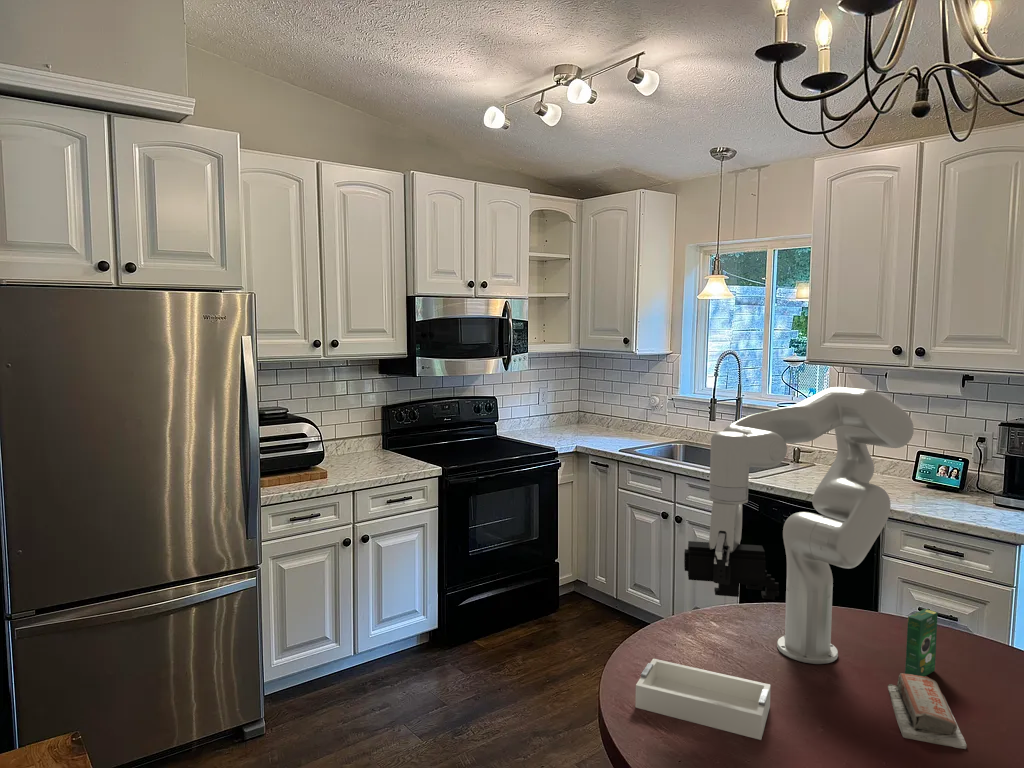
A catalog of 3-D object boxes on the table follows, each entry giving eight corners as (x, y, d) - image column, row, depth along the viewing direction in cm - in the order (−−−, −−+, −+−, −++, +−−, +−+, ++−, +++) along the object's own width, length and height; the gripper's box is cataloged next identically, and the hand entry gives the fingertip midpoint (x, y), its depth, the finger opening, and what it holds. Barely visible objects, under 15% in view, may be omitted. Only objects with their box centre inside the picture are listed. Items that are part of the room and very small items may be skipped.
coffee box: (921, 665, 148) (924, 606, 147) (936, 671, 146) (939, 611, 145) (903, 676, 144) (906, 616, 143) (918, 682, 141) (921, 620, 140)
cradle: (652, 679, 143) (653, 655, 142) (770, 707, 132) (770, 681, 132) (635, 707, 132) (635, 681, 132) (761, 740, 122) (762, 712, 121)
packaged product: (887, 667, 139) (944, 676, 135) (886, 690, 139) (943, 700, 135) (903, 714, 122) (968, 725, 118) (902, 740, 122) (967, 752, 119)
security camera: (781, 604, 135) (782, 554, 135) (684, 596, 139) (685, 548, 138) (775, 591, 142) (776, 544, 141) (683, 584, 146) (684, 538, 145)
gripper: (718, 482, 149) (716, 561, 150) (700, 499, 133) (697, 587, 135) (754, 486, 145) (752, 567, 146) (740, 504, 130) (737, 594, 131)
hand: (725, 576), depth 140 cm, fingers closed on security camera, 8 cm apart
